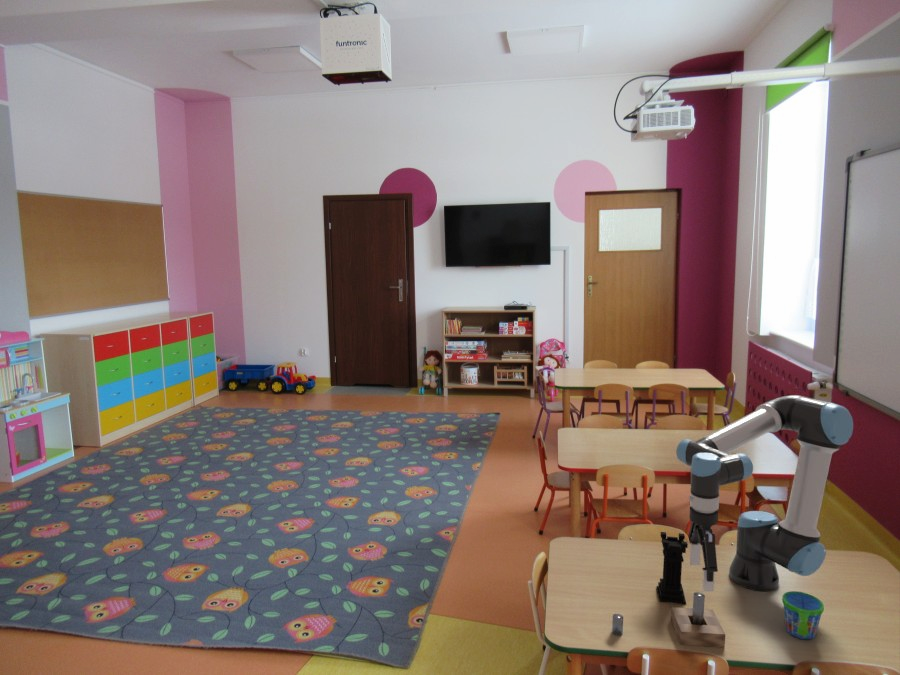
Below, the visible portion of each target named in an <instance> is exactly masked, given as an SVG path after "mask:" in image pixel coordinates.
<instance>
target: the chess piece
mask: <svg viewBox="0 0 900 675" xmlns="http://www.w3.org/2000/svg"><path fill="white" fill-rule="evenodd" d="M685 538H686V536H685V534H684V533H678V537H676V536H667V532H666V531H660V539H661V545H662V548H663V549H662V553H663V554H662V555H663V569H662V578H661V577H660V578H659V581H658V582H657V583H658V584H657V585H656V591H657V592H656V593H657V596H658V597H657V598H658V601H659V602H660V603H668V604H669V603H671V604H678V605H679V604H680V605H687V600H686V596H685V593H684V587H683V585H682V567H683V565H682V564H683V563H684V560H685V559H684V556H683V554H686V552H687V550H686V549H688V547H689V544H688V541H686V540H685Z"/></svg>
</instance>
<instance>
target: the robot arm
mask: <svg viewBox="0 0 900 675" xmlns="http://www.w3.org/2000/svg"><path fill="white" fill-rule="evenodd" d="M783 430H788V431H793V432H796V433H797V436H796V440H797V442H798V443H799V445H800V449H799V454H798V458H797V462H796V467H795V471H794V477H793V482H792V487H791V491H790V496H789V501H788V505H787V510H786V515H785V518H784V519H783V520H781V521H779V519H778V518H779V517H778V516H777V515H776V514H773V513H770V512H767V511H761V510H760V511H759V510H749V511H745V512H743V513H741V514H740V515H739V516H738V522H737V529H736V530H737V532H736V533H737V534H736V553H735V555H734V557H733V559H732V562H731V564H730V566H729V568H728V569H729V571H728V576H729V578H730V579H731V580H732V581H733V582H734V583H735V584H737V585H738V586H741V587H743V588H745V589H749V590H752V591H757V592H758V591H760V592H769V591H773V590H776V589H777V588H778V587H779V585H780V584H779V582H780V576H779V573H778V570H777V569H778V568H777V565H778V566H780V567H782V568H784V569H785V570H788V571H789V572H791V573H795V574H797V575H798V576H802V577H809V576H811V575H813V574H815V573H816V572H817V571H818V570H819V569H820V568H821V567H822V565H823V563H824V561H825V559H826V554H827V552H826V546H824V544H823V543H821V542H820V540H821V539H820V538H821V533H820V531H819V530H818V529H817V526H818V521H819V517H820V511H821V508H822V502H823V498H824V493H825V490H826V489H825V488H826V485H827V484H826V483H827V479H828V474H829V470H830V465H831V460H832V457H833V454H834V453H836V452H837V451H839V450H840V448H841V447H840V446H843V445H845V444H847V443H848V442H849V441H850V440H849V439H851V437H852V435H853V433H854V432H853V431H854V420H853V417H852V415H851V412H850V411H849V409H847V408H846V406H843V405H840V404H837V403H835V402H831V401H826V400H822V399H815V398H813V397H808V396H804V395H800V394H790V395H784V396H780V397H777V398H774V399H770V400H767V401H765V402H764V403H762V404H759V405H758V406H756V408H755V410H754V411H752V412H751V413H748V414H747V415H744V416H743V417H741V418H739V419H737V420H735V421H733V422H731V423H729V424H727V425H725V426H723V427H721V428H719V429H717V430H715V431H713V432H711V433H709V434H708V435H706V436H703V437H702V438H699V439H697V440H694V439H689V438H686V439H683V440H681V441H680V442H679V443H678V445H676V446H677V447H676V451H675V453H676V458H677V459H678V460H679V461H680V462H682V463H684V464H685V465H687V466H689V467H690V496H688V500H689V501H690V502H689V505H690V506H689V520H690V521H691V524H690V527H689V531H688V534H687V535H688V538H689V542H690V549H689V550H690V551H689V553H690V554H689V555H690V556H689V566H701V549H702V556H703V562H704V567H702V571H703V574H702V575H703V577H702V590H703V592H714V591H715V589H714V588H715V573H717V572H718V571H719V570H718V562H717V550H716V549H717V548H716V534H714V533H713V530H712V526H715V525H717V524H718V522H719V509H720V508H719V506H720V487H721V486H725V485H728V484H732V483H736V482H742V481H743V480H745V479H748V478H750V477H751V476H752V475H753V471H754V465H753V461H752V460H751V458H750V457H749V456H748V455H747V454H745V453H743V452H738V453H735V452H734V451H735V450H737V449H739V448H741V447H744V445H747V444H749V443H750V442H752V441H755V440H756V439H758V438H760V437H762V436H764V435H766V434H768V433H777V432H778V431H783ZM732 452H734V453H732ZM730 453H731V454H730ZM776 564H777V565H776Z"/></svg>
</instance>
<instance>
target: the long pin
mask: <svg viewBox="0 0 900 675" xmlns="http://www.w3.org/2000/svg"><path fill="white" fill-rule="evenodd" d="M692 599H693V602H692V608H693V614H692V624H693V625H703V617H704V609H705V601H706V600H705V599H706V596H705V594H704V593H702V592H699V591H697V592H694V593H693V598H692Z"/></svg>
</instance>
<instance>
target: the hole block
mask: <svg viewBox="0 0 900 675" xmlns="http://www.w3.org/2000/svg"><path fill="white" fill-rule="evenodd" d="M692 614H693V607H692V608H689V607H671V608H670V621H671V623H672V626H673V629H674V631H675V634H676V636H677V639H678V642H679V644H680V645H683V646H696V647H697V646H698V647H699V646H700V647H712V648H713V647H715V648H716V647H717V648H725V647H726V646H725V645H726V633H725V630H724V629H723V626H722V625H721V622H720V621H719V619H718V617H717V615H716V613H715V611H714V610H713V609H711V608H710V609H709V608H704V617H703V625H693V624H692Z"/></svg>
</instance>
